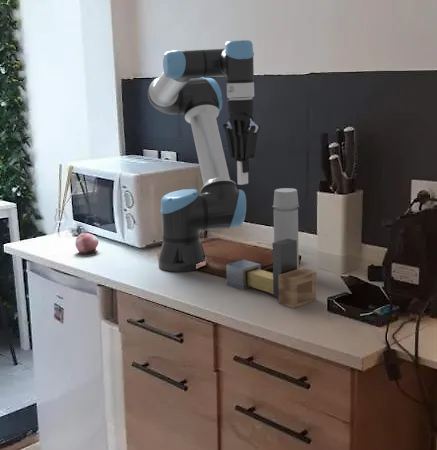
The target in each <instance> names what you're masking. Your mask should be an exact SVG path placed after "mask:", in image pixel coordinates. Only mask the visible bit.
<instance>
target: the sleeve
mask: <svg viewBox="0 0 437 450" xmlns="http://www.w3.org/2000/svg"><path fill="white" fill-rule="evenodd" d="M225 267H226V269H225V272H226V274H225V275H226V285H227V286H230V287H233V288H237V289H239V290H242V291H245V290H248V289H251V288H252V287H250V286H247V285H246V272H245V271H247V270H251V269H254V268H257V269H260V270H262V266H261V263H257V262H254V261H250V260H246V259H240V260H237V261H233V262H229V263H227V264H225Z"/></svg>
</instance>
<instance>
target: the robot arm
mask: <svg viewBox="0 0 437 450" xmlns="http://www.w3.org/2000/svg"><path fill="white" fill-rule="evenodd" d="M253 45H254V44H253V42H252V41H251V40H250V39H249V40H248V39H246V40H245V39H244V40H228V41H226V42H225V45H224V48H220V49H219V48H213V49H210V48H209V49H188V50H187V49H175V50H168V51H166V52H165V53H164V55H163V59H162V66H163V67H162V69H163V71H162V73H161V74H160V76H159V77H157V78H155V79H153V80H152V81H151V83H150V84H149V87H148V88H147V97H148V98H147V99H148V102H149V103H150V104H151V106H152V107H153V108H154V109H155V110H157V111H159V112H161V113H163V114H166V115H174V116H175V115H184V120H185V121H186V123H188V124H190V126H191V131H192V135H193V141H194V145H195V150H196V154H197V160H198V164H199V168H200V169H199V170H200V174H201V180H202V183H203V186H202V187H201V189H200V190H199V191H200V192H198V189H196V188H195V189H194V188H188V189H180V190H175V191H171V192H168V193H167V194H165V195H163V196H162V197H161V199H160V214H161V215H160V216H161V229H162V230H161V231H162V234H161V235H162V244H161V248H160V251H159V257H158V267H159V269H160V270H163V271H166V272H175V273H177V272H180V273H182V272H191V271H197V270H196V264H198V263H200V262H203V261H205V260H206V259H207V255H206V253H205V249H204V247H203V244H202V241H201V232H203V231H212V230H213V231H214V230H223V229H225V230H226V229H231V228H237V227H240V226H241V225H243V223H244V222H245V218H246V213H247V197H246V193H245V191H244V190H243V189H240V188H239V189H238V188H237V185H238V186H239V185H240V186H242V185H248V184H249V173H250V160H253V159H255V156H256V149H257V143H258V142H257V141H258V135H259V132H260V129H261V125H260V124H256V123H255V121H254V117H253V113H255V111H256V110H255V99H253V98H254V97H255V83H254V79H255V77H254V76H255V75H254V73H255V72H254V69H255V68H254V54H255V53H254V46H253ZM215 77H225V78H226V79H225V80H226V81H225V82H226V97H227V100H226V112H227V113H228V114H229V117H228V121H227V122H226V123H223V124H222V126H223V129H224V131H225V136H226V140H227V141H226V142H227V145H228V151H229V157H230V158H231V159H234V161H235V171H236V172H237V173H236V177H237V180H236V181H237V184H236V182H235V181H234V180H231V177H230V174H229V173H230V172H229V168H228V166H227V161H226V157H225V156H226V155H225V152H224V148H223V143H222V139H221V135H220V131H219V130H220V129H219V126H218V121H217V118H218V116H219V114H220V112H221V110H222V108H223V98H222V97H223V95H222V90H221V87H220V85H219V83H218V82H217V80H215V79H214V78H215ZM207 260H208V259H207Z"/></svg>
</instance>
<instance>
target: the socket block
mask: <svg viewBox="0 0 437 450" xmlns="http://www.w3.org/2000/svg"><path fill="white" fill-rule="evenodd" d="M278 282H279V297H278V304H279V305H282V306H284V307H288V308H290V309H294V308H297V307H299V306H303V305H306V304H308V303H311V302H314V301H317V300H318V299H317V271H316V270H312V269H309V268H305V267H300V268H299V269H296V270H293V271H290V272H287V273H283V274H280V275H278Z"/></svg>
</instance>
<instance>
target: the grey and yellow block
mask: <svg viewBox="0 0 437 450" xmlns="http://www.w3.org/2000/svg"><path fill="white" fill-rule="evenodd" d="M271 245H272V272H271V271H267V270H263V269H261V270H260V269H257V268H254V269H251V270H247V271H245V272H246V285H247V286H250V287H251V288H254V289H257V290H260V291H262V292H263V291H264V292H267V293H270V294H273V296H274V297H276V298H279V282H278V275H280V274H283V273H287V272H290V271H293V270H296V269H297V240H293V239H285V240H281V241H278V242H274V241H273V242H272V244H271Z"/></svg>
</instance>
